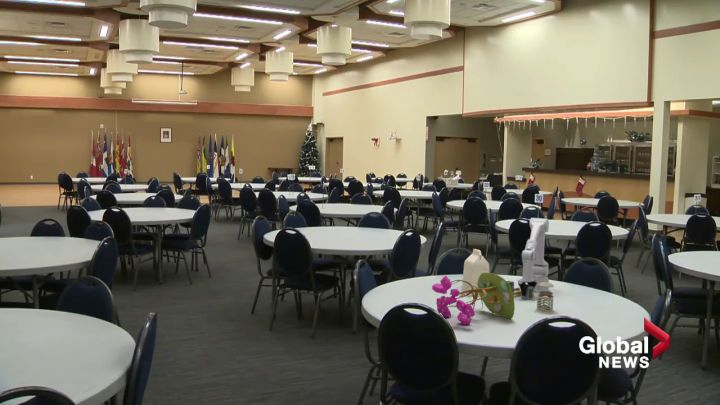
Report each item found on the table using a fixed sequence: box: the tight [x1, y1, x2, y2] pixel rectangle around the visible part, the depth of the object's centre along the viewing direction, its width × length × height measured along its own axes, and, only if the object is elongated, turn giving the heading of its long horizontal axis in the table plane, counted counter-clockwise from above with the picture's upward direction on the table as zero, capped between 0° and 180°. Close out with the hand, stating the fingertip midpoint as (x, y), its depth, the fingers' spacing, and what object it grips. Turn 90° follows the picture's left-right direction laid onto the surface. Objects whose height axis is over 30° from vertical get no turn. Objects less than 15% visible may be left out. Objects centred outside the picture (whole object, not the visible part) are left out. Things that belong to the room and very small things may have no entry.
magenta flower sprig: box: [431, 272, 516, 325], centre depth 314 cm, size 30×28×35 cm
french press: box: [532, 262, 555, 315], centre depth 333 cm, size 10×12×25 cm
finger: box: [520, 286, 534, 301], centre depth 362 cm, size 4×6×7 cm
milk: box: [461, 248, 490, 298], centre depth 369 cm, size 12×12×26 cm
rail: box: [506, 280, 521, 298], centre depth 372 cm, size 18×10×8 cm, turn 127°
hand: (527, 295), depth 362 cm, fingers open, 5 cm apart
